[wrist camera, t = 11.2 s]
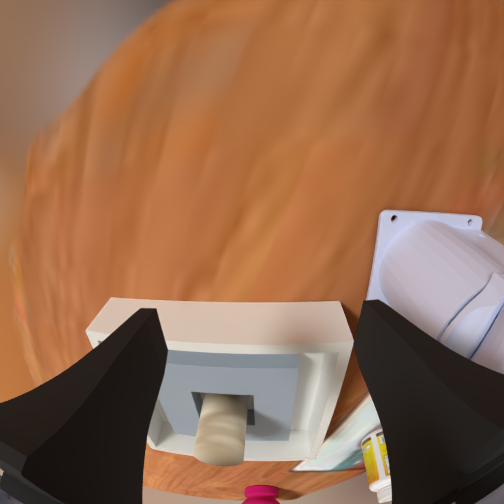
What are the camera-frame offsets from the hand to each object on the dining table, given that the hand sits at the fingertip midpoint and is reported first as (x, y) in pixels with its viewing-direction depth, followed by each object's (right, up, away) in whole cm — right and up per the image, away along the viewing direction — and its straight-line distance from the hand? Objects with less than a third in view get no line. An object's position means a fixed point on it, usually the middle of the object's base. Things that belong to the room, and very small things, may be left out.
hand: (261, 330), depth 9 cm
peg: (-3, -10, +14) cm, 18 cm away
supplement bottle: (+17, -22, +19) cm, 34 cm away
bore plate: (-3, -10, +15) cm, 18 cm away
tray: (-3, -9, +15) cm, 17 cm away
